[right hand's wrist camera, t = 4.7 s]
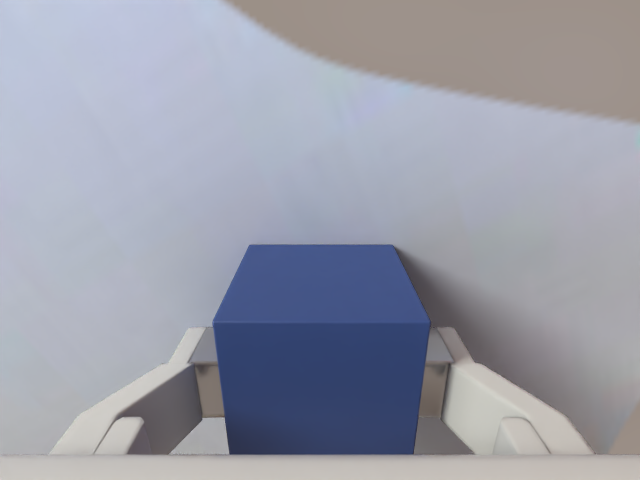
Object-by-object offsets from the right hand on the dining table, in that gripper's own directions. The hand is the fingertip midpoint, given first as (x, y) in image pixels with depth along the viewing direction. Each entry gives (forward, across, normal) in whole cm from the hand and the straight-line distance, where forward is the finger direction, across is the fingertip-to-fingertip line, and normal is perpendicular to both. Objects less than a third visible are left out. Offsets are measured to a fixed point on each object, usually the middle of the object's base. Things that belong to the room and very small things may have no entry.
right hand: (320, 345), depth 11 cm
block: (+2, 0, 0) cm, 2 cm away
